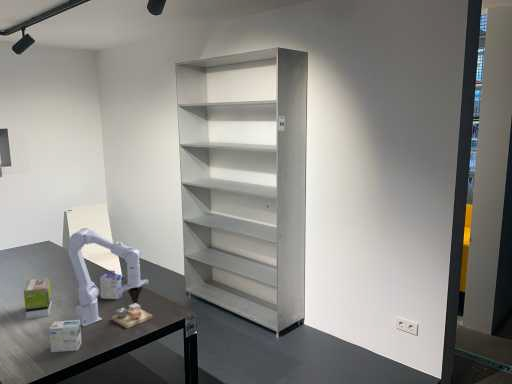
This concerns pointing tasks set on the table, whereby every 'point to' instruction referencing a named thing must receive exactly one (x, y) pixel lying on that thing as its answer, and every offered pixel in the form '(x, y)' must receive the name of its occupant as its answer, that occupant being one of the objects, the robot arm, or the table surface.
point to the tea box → (37, 298)
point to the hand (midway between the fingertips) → (134, 302)
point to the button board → (131, 319)
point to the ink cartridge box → (110, 285)
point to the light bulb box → (65, 336)
